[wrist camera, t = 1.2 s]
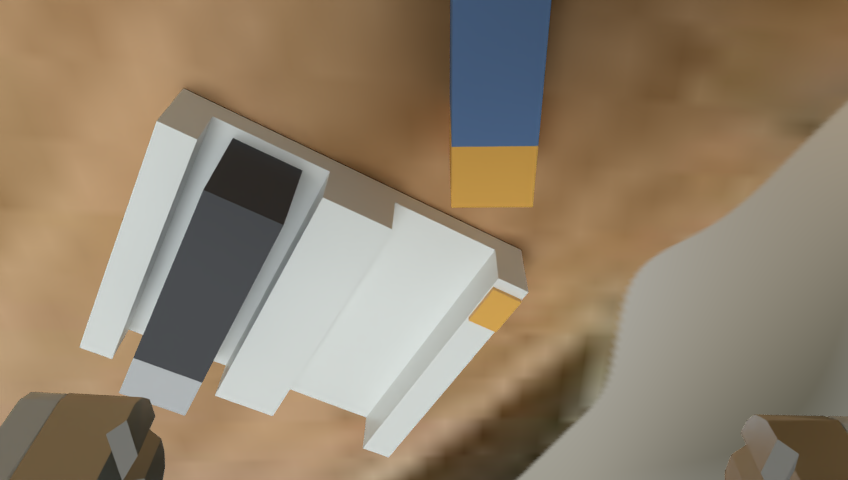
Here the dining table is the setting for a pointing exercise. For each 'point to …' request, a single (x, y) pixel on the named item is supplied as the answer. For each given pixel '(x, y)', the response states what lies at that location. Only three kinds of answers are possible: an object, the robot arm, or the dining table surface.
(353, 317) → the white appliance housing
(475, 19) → the blue bar yellow end
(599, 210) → the dining table surface
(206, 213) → the dark grey square rod
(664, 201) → the dining table surface
